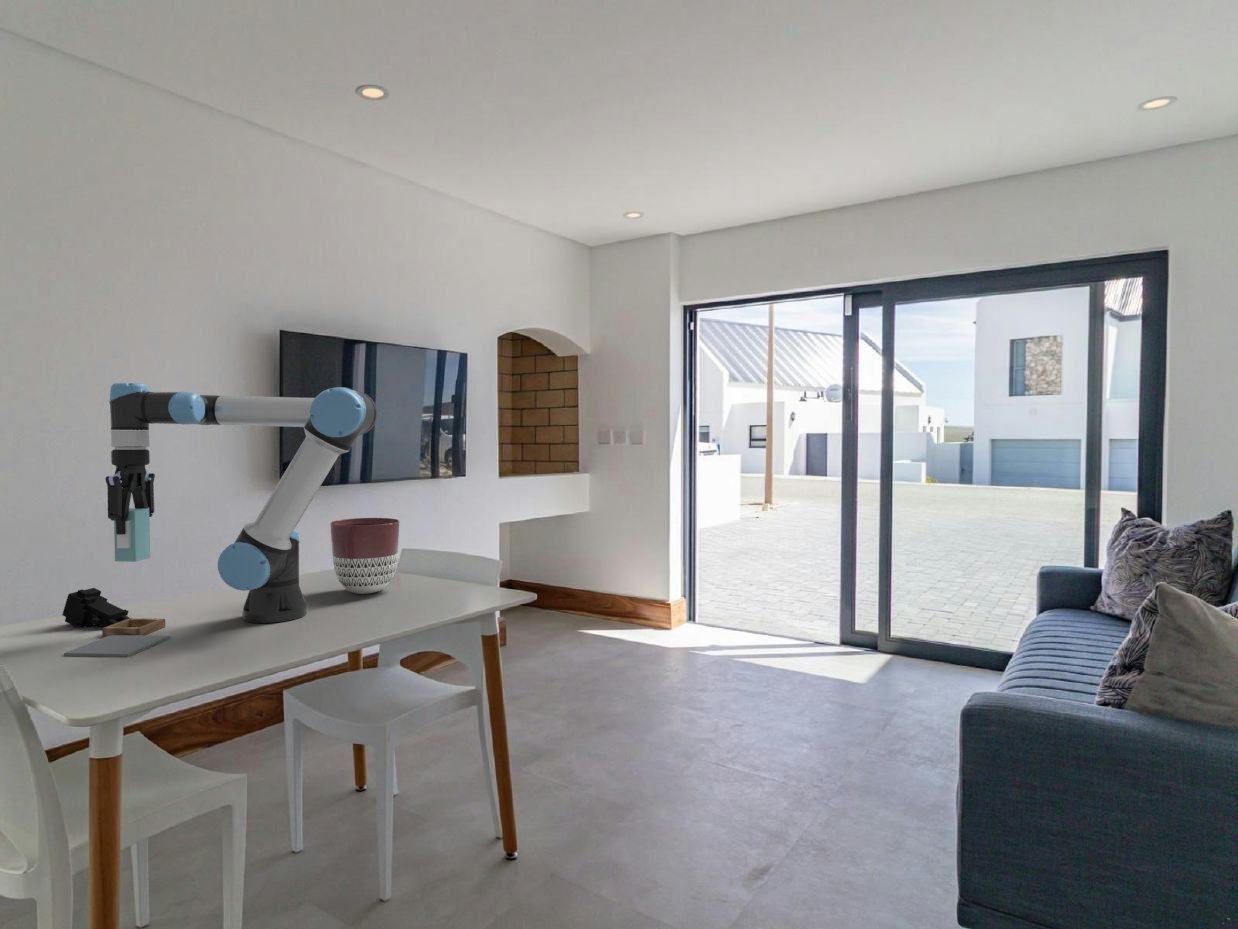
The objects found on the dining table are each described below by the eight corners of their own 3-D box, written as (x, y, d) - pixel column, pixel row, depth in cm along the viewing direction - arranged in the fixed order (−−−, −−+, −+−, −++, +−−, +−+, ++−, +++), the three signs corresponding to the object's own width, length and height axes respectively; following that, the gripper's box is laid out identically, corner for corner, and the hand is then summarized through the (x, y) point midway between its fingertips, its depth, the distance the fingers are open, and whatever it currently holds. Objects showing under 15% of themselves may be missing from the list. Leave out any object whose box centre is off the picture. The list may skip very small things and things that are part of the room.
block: (150, 558, 174) (149, 508, 174) (135, 561, 169) (134, 510, 169) (130, 557, 175) (128, 508, 174) (114, 561, 170) (113, 510, 169)
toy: (115, 615, 172) (65, 590, 175) (106, 645, 173) (56, 620, 175) (147, 605, 181) (99, 582, 184) (138, 635, 182) (90, 611, 184)
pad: (170, 638, 168) (170, 635, 168) (128, 656, 154) (128, 654, 154) (111, 637, 168) (111, 634, 168) (63, 655, 154) (63, 653, 154)
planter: (317, 598, 209) (316, 524, 208) (353, 584, 228) (352, 517, 227) (380, 601, 206) (379, 526, 205) (410, 587, 225) (410, 518, 224)
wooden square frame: (165, 626, 177) (165, 618, 177) (140, 637, 168) (140, 628, 168) (129, 626, 178) (129, 618, 178) (102, 636, 169) (102, 628, 169)
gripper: (141, 447, 180) (143, 540, 181) (85, 449, 162) (88, 552, 163) (170, 447, 180) (172, 540, 181) (118, 449, 162) (120, 552, 163)
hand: (132, 546), depth 172 cm, fingers closed on block, 5 cm apart
